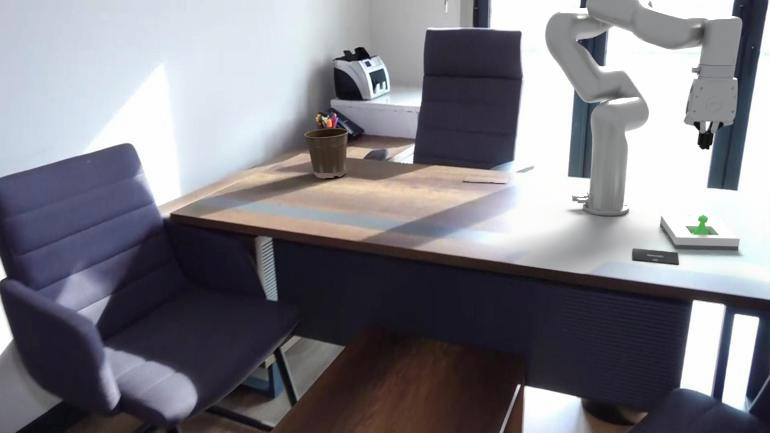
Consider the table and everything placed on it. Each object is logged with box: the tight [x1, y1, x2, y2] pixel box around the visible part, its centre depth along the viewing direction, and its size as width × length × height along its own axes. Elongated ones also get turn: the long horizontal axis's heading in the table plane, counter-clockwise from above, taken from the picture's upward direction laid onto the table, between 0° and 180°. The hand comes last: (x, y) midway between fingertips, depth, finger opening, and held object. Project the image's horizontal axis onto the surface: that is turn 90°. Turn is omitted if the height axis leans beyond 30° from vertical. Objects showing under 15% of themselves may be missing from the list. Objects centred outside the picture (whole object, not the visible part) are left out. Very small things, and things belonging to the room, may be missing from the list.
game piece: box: [692, 214, 709, 235], centre depth 150 cm, size 4×4×6 cm
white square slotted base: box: [659, 214, 741, 251], centre depth 154 cm, size 14×16×3 cm
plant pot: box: [303, 127, 349, 173], centre depth 224 cm, size 16×16×16 cm
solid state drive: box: [631, 248, 680, 266], centre depth 144 cm, size 7×10×1 cm
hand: (704, 148), depth 149 cm, fingers closed
